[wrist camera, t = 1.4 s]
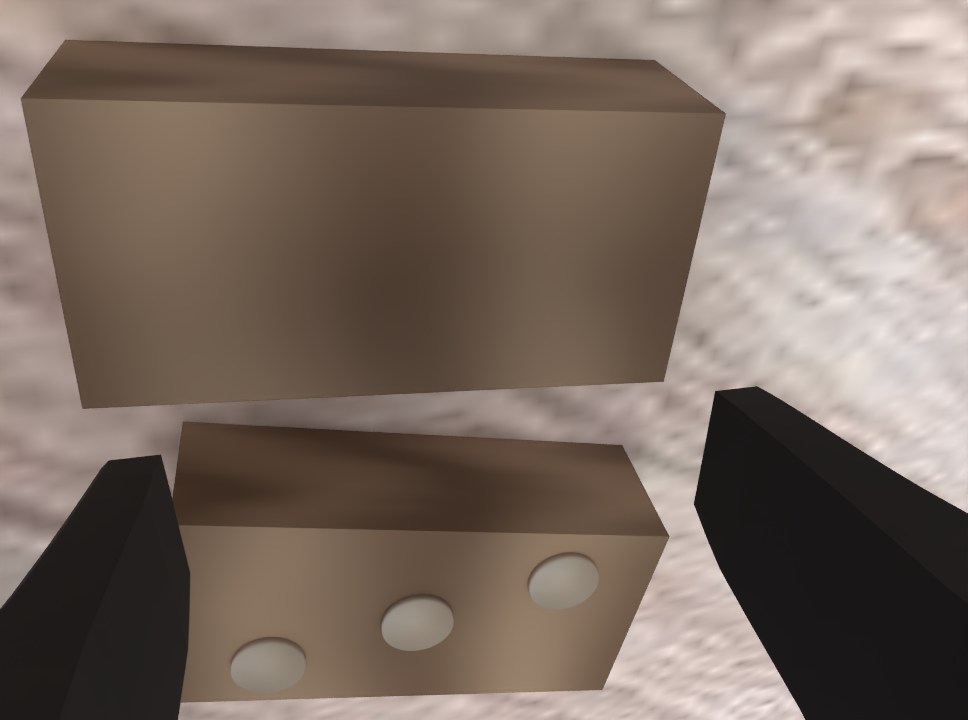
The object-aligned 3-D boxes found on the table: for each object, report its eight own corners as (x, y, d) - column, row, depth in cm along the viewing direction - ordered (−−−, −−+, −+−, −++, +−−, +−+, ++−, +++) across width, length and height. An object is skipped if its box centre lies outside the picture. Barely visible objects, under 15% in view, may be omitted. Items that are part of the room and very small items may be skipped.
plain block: (112, 306, 20) (82, 408, 17) (68, 35, 17) (20, 98, 14) (607, 294, 23) (663, 381, 20) (649, 57, 20) (725, 113, 16)
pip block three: (174, 582, 25) (159, 711, 22) (184, 414, 22) (168, 532, 19) (571, 585, 29) (612, 696, 25) (626, 439, 26) (681, 543, 22)
